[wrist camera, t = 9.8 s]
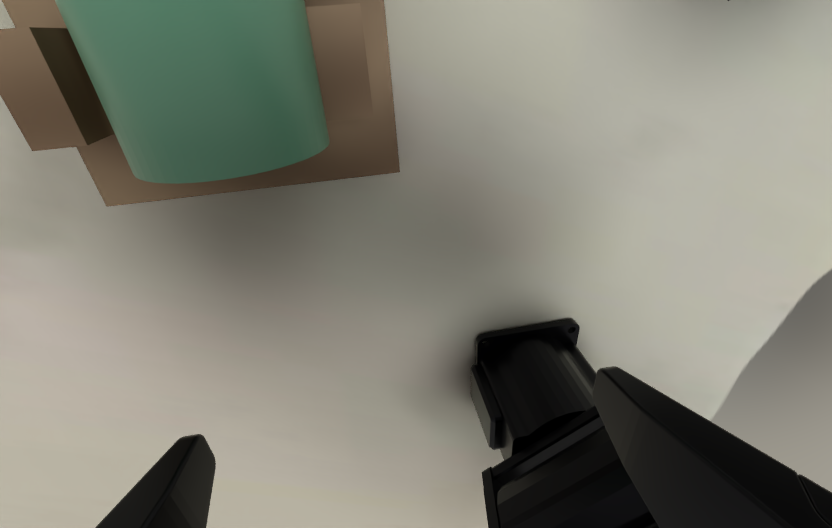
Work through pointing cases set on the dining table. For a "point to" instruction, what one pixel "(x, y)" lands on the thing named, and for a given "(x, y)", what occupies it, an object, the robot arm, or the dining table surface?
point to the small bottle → (202, 83)
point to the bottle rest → (103, 156)
